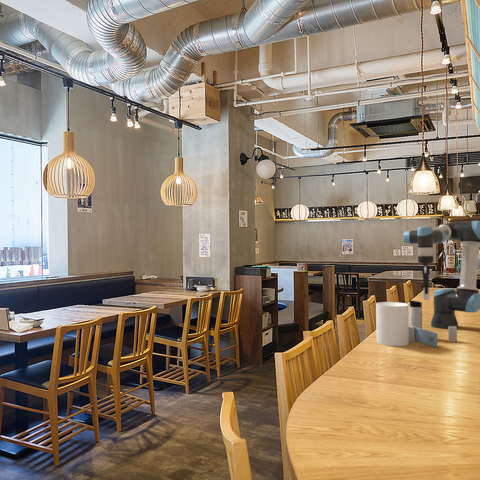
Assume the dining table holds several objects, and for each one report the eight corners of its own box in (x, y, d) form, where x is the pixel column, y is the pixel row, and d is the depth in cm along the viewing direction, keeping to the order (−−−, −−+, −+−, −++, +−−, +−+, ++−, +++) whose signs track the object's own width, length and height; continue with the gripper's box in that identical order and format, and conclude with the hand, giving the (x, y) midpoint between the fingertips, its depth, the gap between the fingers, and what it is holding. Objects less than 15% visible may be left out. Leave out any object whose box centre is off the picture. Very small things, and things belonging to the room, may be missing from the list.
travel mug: (407, 335, 246) (407, 299, 246) (418, 335, 247) (418, 299, 247) (412, 338, 240) (412, 301, 240) (424, 337, 241) (424, 301, 241)
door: (437, 347, 218) (437, 332, 218) (432, 347, 217) (432, 333, 217) (416, 340, 235) (416, 326, 235) (411, 340, 234) (411, 326, 234)
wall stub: (455, 340, 233) (455, 326, 233) (456, 341, 231) (456, 327, 231) (448, 340, 233) (448, 326, 233) (449, 341, 231) (449, 327, 231)
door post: (412, 340, 235) (412, 326, 235) (414, 341, 232) (414, 327, 232) (406, 340, 236) (406, 326, 236) (408, 341, 233) (408, 327, 233)
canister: (413, 342, 231) (413, 303, 231) (401, 347, 220) (400, 307, 220) (384, 337, 242) (384, 301, 242) (371, 343, 230) (370, 304, 231)
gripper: (418, 254, 243) (419, 297, 244) (417, 256, 232) (418, 301, 232) (433, 254, 240) (434, 298, 240) (432, 256, 228) (433, 301, 229)
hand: (426, 299), depth 236 cm, fingers closed
